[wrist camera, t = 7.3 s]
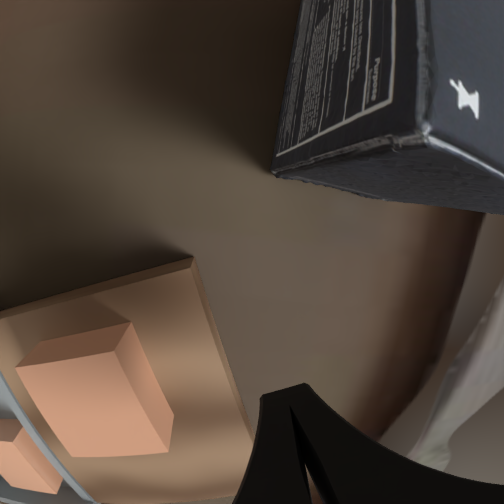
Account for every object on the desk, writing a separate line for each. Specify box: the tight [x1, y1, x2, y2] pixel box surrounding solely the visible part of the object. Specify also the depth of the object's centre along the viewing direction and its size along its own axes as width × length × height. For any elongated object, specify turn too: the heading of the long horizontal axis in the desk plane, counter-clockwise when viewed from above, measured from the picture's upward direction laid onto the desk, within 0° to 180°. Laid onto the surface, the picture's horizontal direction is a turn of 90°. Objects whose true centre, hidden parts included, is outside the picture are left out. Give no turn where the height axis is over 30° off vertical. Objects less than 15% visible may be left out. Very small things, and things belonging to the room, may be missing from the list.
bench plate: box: [0, 257, 255, 504], centre depth 14 cm, size 14×12×2 cm
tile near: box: [15, 322, 174, 457], centre depth 11 cm, size 5×5×2 cm
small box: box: [270, 0, 504, 215], centre depth 8 cm, size 11×6×10 cm, turn 170°
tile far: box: [0, 419, 63, 494], centre depth 13 cm, size 5×5×2 cm
